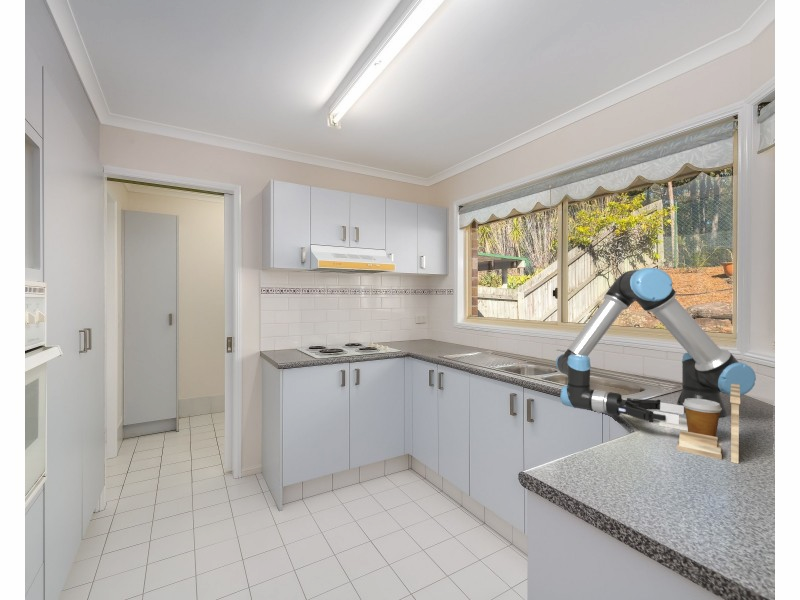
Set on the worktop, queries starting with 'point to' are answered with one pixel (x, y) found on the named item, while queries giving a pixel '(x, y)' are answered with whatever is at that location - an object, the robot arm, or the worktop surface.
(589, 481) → the worktop surface
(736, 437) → the pine panel
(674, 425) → the white square coaster
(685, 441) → the offcut stack
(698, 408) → the disposable coffee cup
